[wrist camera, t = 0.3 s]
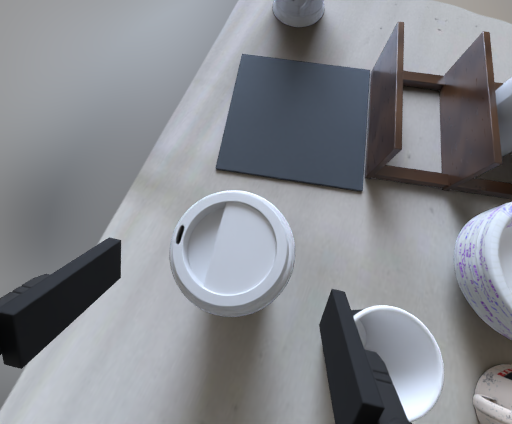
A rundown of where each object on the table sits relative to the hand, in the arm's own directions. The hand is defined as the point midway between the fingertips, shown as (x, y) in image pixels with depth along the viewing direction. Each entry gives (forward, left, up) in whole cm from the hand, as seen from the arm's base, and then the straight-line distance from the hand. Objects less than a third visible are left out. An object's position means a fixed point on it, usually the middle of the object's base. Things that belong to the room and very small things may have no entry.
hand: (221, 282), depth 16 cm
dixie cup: (-4, -13, -16) cm, 21 cm away
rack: (+25, -25, -16) cm, 39 cm away
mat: (+24, -4, -16) cm, 30 cm away
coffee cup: (+2, 0, -16) cm, 17 cm away
